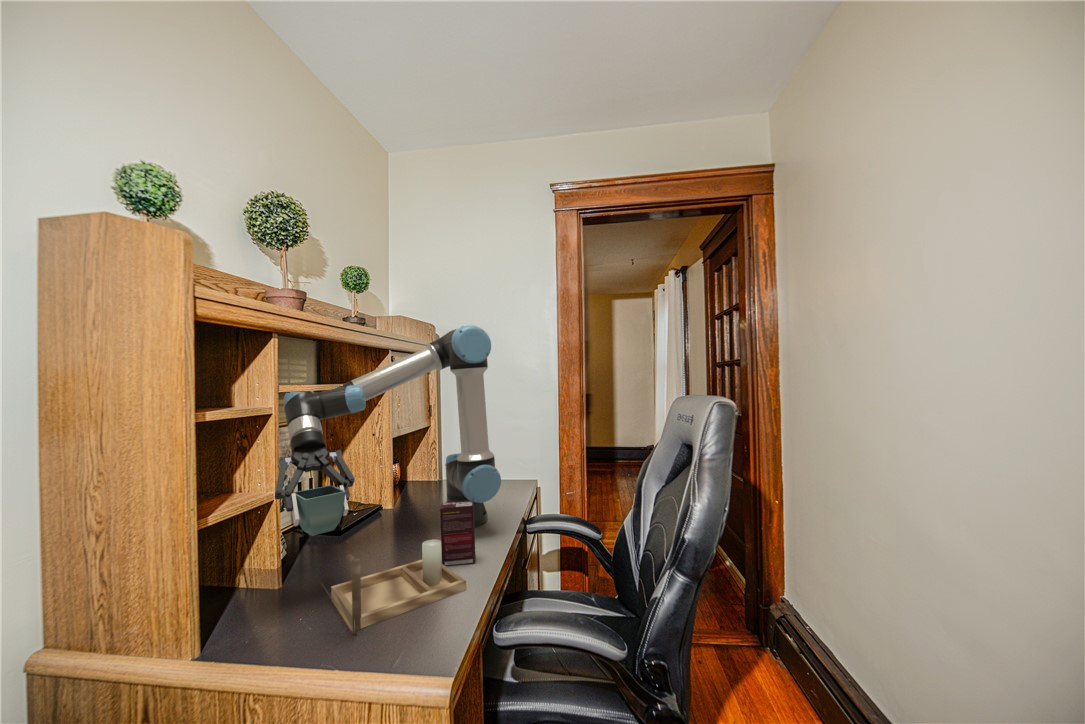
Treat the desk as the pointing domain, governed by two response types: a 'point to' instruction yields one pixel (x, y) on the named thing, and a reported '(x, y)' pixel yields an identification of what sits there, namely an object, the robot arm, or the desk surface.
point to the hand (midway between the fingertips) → (322, 517)
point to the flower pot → (320, 509)
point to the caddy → (389, 592)
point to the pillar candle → (432, 562)
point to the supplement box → (457, 533)
